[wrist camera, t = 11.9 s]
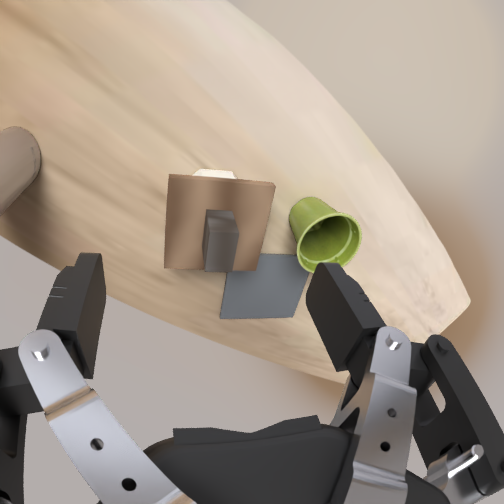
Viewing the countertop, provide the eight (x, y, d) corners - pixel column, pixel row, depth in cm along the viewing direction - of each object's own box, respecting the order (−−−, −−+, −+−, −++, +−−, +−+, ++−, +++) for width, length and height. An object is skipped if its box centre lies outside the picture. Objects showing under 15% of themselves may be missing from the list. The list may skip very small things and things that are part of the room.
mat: (219, 316, 55) (220, 318, 55) (230, 252, 47) (231, 254, 47) (291, 315, 59) (292, 317, 58) (313, 255, 51) (314, 257, 51)
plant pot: (340, 186, 45) (369, 212, 38) (330, 238, 50) (353, 270, 43) (281, 186, 43) (302, 215, 36) (275, 242, 48) (292, 277, 41)
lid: (164, 262, 39) (163, 294, 34) (169, 174, 33) (166, 196, 28) (254, 265, 42) (264, 296, 37) (273, 182, 36) (289, 205, 31)
